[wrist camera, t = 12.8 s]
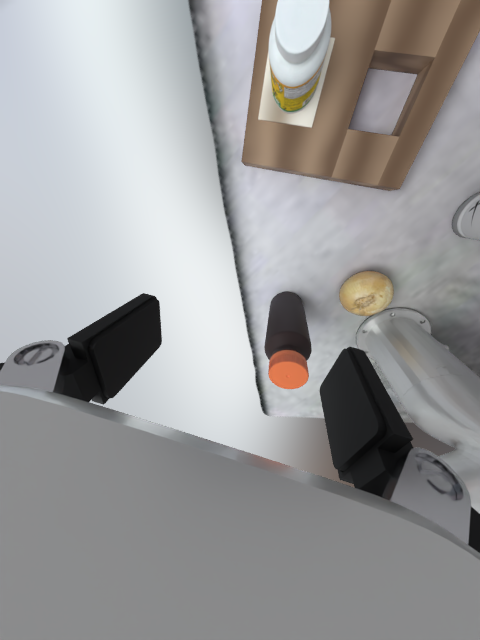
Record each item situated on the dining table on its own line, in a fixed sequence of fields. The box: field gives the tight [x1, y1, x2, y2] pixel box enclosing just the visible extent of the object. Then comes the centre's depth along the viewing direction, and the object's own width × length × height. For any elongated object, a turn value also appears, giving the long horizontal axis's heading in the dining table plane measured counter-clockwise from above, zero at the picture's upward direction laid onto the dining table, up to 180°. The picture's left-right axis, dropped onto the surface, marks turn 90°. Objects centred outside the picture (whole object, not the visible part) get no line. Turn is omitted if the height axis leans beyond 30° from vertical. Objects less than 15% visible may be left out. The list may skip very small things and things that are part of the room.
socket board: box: [242, 0, 480, 191], centre depth 23 cm, size 22×16×3 cm
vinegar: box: [265, 292, 311, 389], centre depth 32 cm, size 7×7×20 cm
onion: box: [339, 271, 394, 316], centre depth 33 cm, size 8×8×7 cm
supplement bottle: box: [269, 0, 331, 114], centre depth 18 cm, size 5×5×10 cm
